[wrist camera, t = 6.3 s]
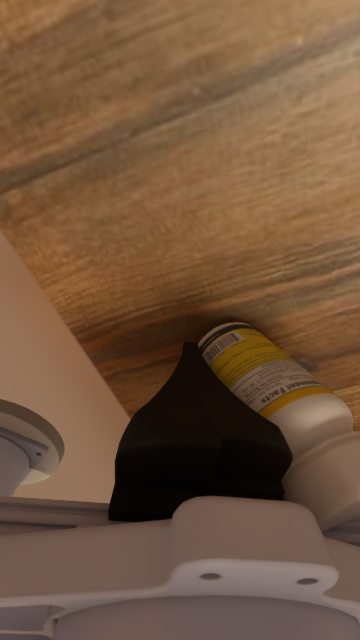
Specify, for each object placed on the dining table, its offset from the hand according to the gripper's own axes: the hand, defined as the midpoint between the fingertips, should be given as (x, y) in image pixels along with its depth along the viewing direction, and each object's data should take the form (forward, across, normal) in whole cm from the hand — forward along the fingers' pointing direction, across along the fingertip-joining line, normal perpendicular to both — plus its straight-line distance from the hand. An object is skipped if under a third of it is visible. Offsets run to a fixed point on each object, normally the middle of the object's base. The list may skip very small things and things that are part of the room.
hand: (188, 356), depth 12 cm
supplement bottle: (+1, -2, 0) cm, 3 cm away
